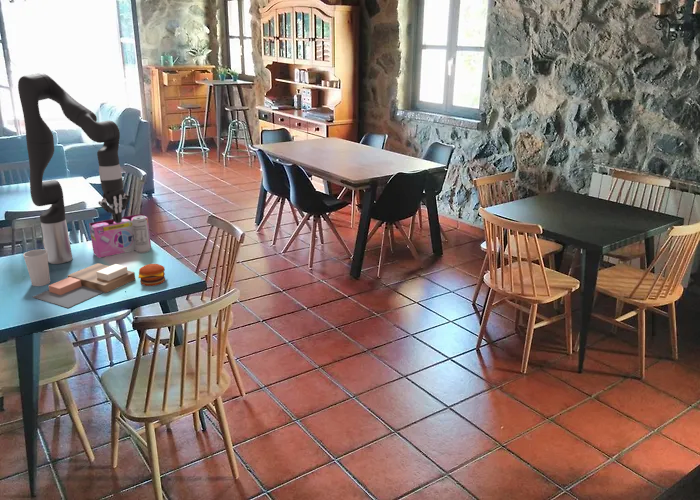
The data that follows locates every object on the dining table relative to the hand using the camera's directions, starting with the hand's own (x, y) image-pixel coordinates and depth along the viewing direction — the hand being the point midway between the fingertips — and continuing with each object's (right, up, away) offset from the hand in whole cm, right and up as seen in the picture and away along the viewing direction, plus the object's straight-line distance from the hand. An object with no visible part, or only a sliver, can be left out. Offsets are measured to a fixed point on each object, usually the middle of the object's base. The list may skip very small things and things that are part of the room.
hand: (118, 222), depth 225 cm
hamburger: (+12, -22, +2) cm, 26 cm away
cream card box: (-2, -20, 0) cm, 20 cm away
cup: (-29, -23, +1) cm, 37 cm away
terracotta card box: (-17, -25, -5) cm, 31 cm away
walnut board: (-7, -22, +3) cm, 23 cm away
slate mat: (-14, -27, -9) cm, 32 cm away
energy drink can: (-2, -11, +33) cm, 35 cm away
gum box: (-11, -11, +35) cm, 38 cm away
